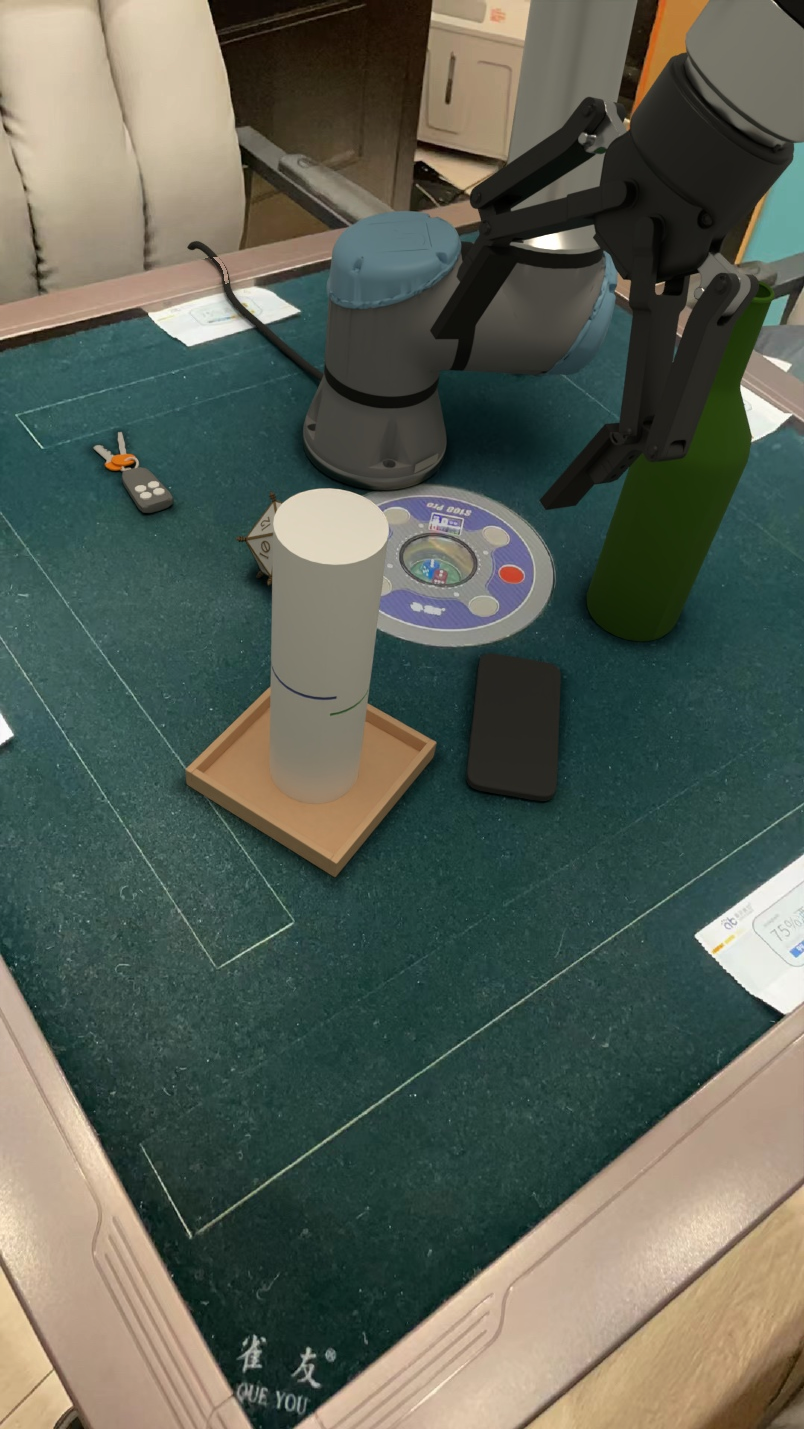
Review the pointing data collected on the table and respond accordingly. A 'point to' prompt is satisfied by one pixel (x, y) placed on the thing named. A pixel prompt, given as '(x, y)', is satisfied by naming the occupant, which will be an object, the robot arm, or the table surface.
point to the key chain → (137, 480)
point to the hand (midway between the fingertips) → (500, 417)
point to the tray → (310, 830)
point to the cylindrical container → (323, 638)
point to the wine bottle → (677, 505)
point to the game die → (263, 539)
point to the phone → (515, 728)
